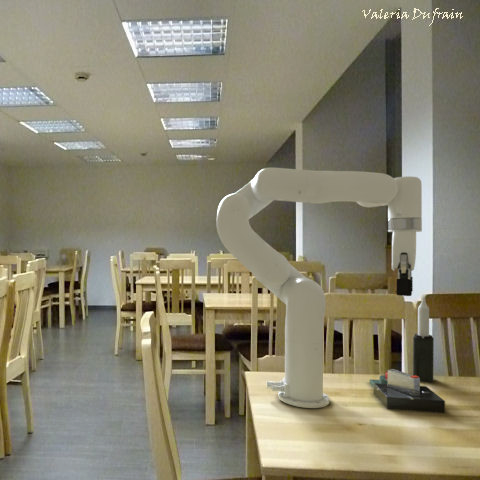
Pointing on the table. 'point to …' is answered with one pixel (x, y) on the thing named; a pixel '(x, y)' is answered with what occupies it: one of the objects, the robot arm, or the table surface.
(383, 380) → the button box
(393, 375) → the grey rectangular block
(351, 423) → the table surface
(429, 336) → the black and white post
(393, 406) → the panel
